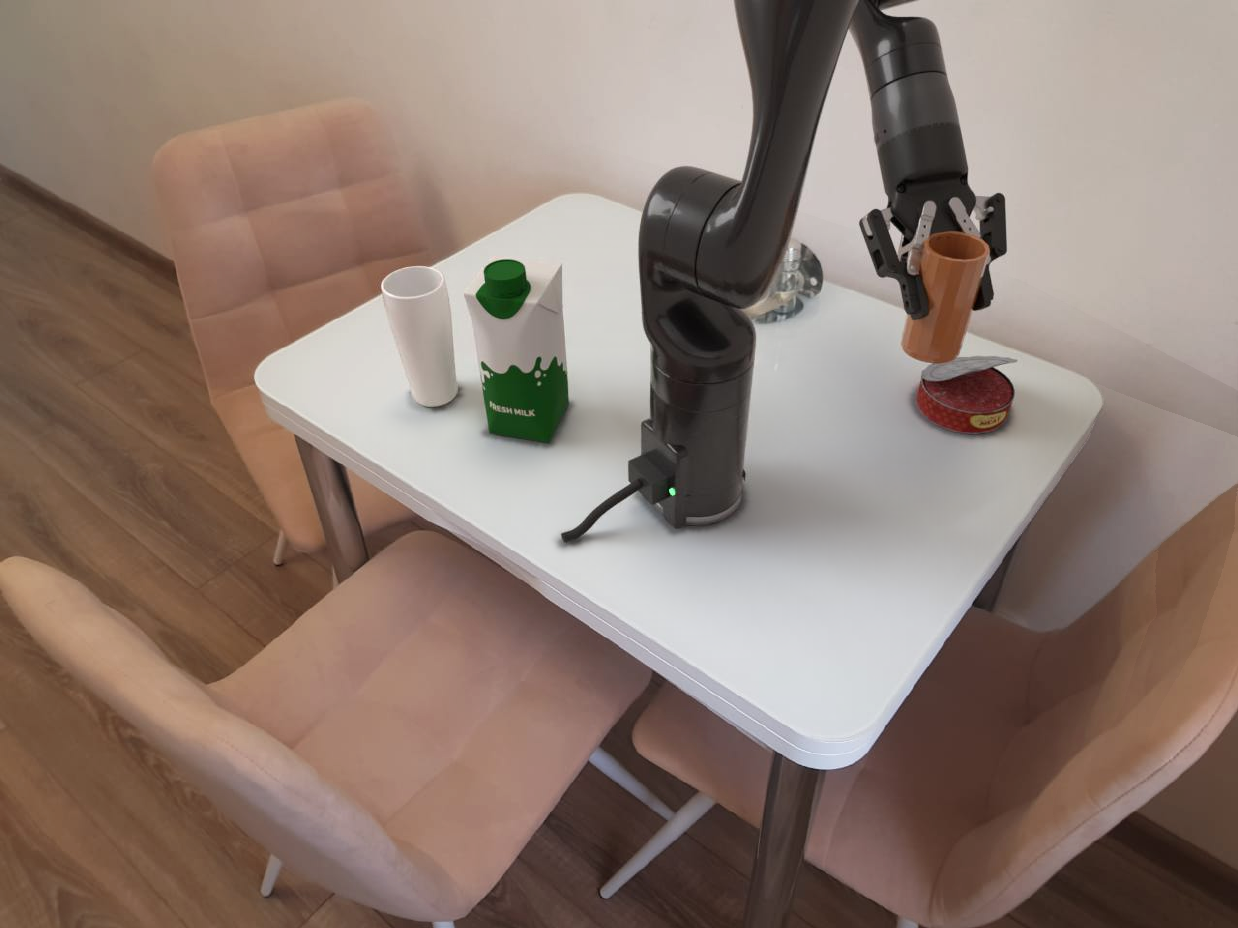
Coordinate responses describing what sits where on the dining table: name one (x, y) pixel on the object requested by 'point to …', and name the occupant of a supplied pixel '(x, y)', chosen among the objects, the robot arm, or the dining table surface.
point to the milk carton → (520, 345)
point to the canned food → (966, 394)
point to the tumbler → (946, 295)
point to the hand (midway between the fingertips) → (951, 312)
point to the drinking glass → (422, 332)
